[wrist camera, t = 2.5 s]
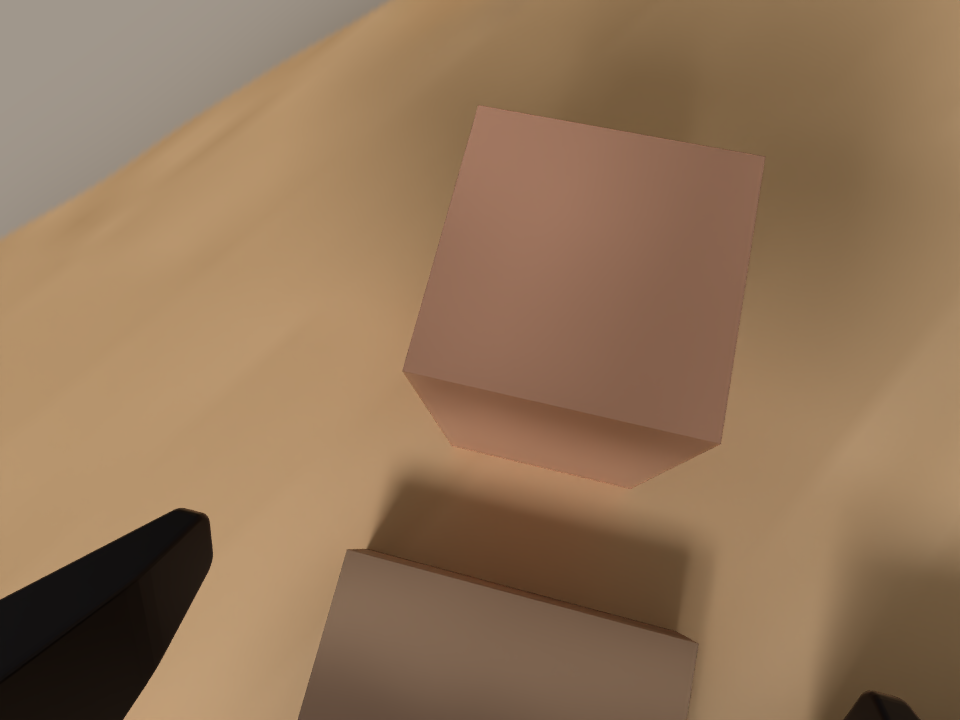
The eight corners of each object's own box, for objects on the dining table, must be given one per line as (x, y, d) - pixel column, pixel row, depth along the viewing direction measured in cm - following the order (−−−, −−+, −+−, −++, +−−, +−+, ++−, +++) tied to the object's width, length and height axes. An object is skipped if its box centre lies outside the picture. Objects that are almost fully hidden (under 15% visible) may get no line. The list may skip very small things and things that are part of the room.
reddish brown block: (629, 488, 22) (720, 444, 12) (451, 446, 22) (402, 371, 13) (661, 318, 23) (764, 156, 13) (493, 283, 24) (478, 105, 14)
